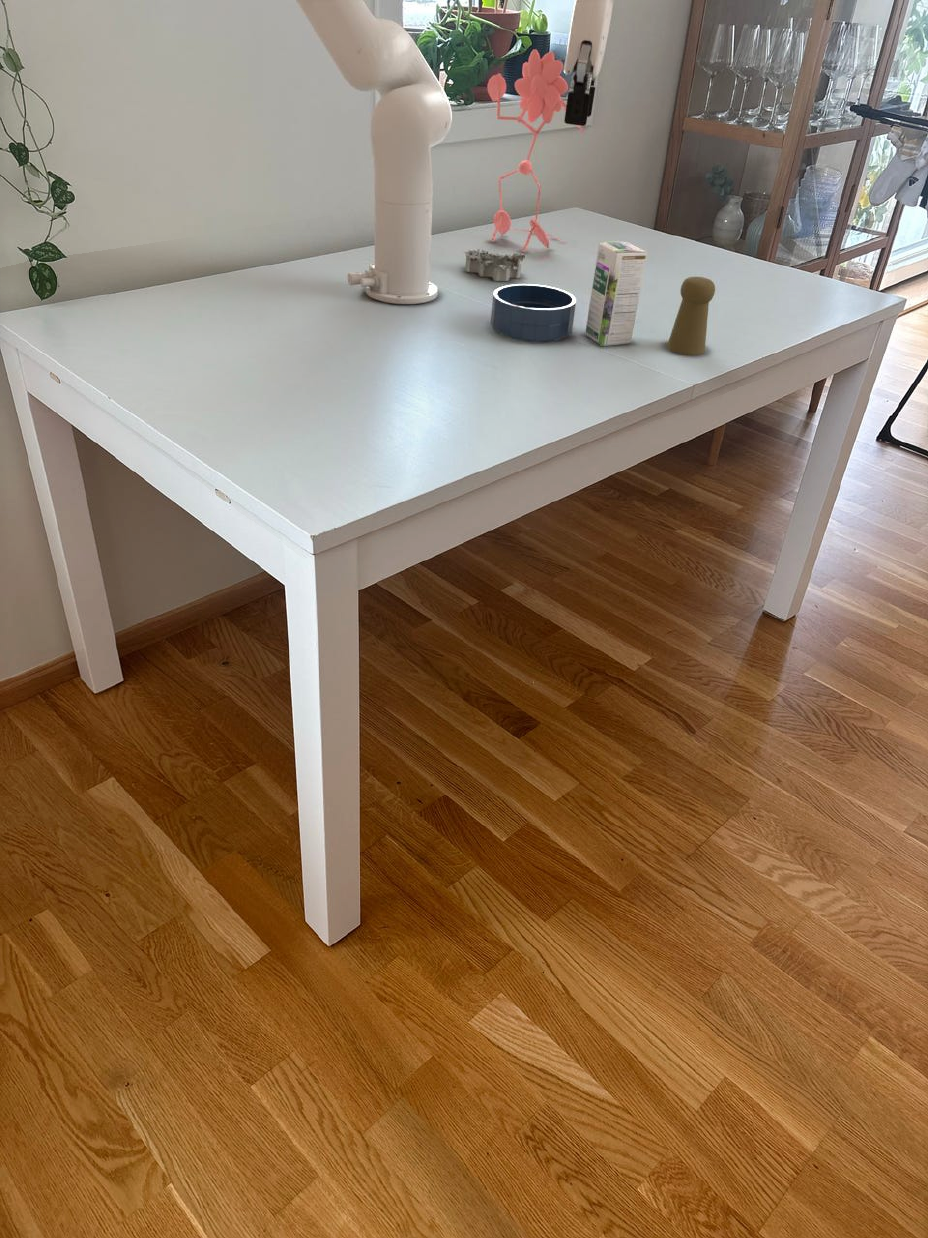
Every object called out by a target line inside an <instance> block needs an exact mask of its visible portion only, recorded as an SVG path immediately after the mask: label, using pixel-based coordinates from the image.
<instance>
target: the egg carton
mask: <svg viewBox="0 0 928 1238" xmlns="http://www.w3.org/2000/svg"><path fill="white" fill-rule="evenodd" d="M462 252H463V253H464V254H465V272H467V273H477V274H478V276H479V277H483V278H485V277H488V278H492V280H493V281H494V282H509V281H510V279H520V278H521V271H522V264H521V262H523V261H524V259H526V255H525V254H523V253H518V252H517V253H513V254H512V255H510V254H508V253H506V254H505V255H503V254H501V253H495V252H494V253H489V251H487V250H485V249H482V250H481V251H480V249H479V248H478V249H476V250H473V249H472V250H471V249H469V250H467V251H465V250H462Z"/></svg>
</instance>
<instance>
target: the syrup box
mask: <svg viewBox="0 0 928 1238" xmlns="http://www.w3.org/2000/svg"><path fill="white" fill-rule="evenodd" d="M597 247H598V248H597V252H596V253H597V254H596V259H595V260H596V261H595V267H594V273H593V279H592V280H593V281H592V286H591V293H590V300H589V307H588V314H587V319H586V326H585V331H584V334H585V335H584V336H586V337H588V338H590V339H591V340H592V341H594V342H596V343H597V344H599V345H600V346H601V347H609V346H617V345H627V344H631V343H632V339H633V332H634V328H635V322H636V316H637V311H638V305H639V300H640V294H641V289H642V283H643V279H644V278H643V277H644V273H645V266H646V262H647V256H648V251H647V250H643V249H642V248H639V247H637V245H634V244H632V243H630V242H627V241H617V240H615V241H604V242H599V243H598V246H597Z"/></svg>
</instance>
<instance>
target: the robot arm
mask: <svg viewBox="0 0 928 1238" xmlns="http://www.w3.org/2000/svg"><path fill="white" fill-rule="evenodd" d="M295 1H296V3H297V5H298V6H299V7H300V9H301V10H302V12H303V14H304V15H305V17H306V18H307V20H308V21H309V23H310V25H311V26H312V28H313V30H314V31H315V34H316V35H317V36H318V38H319V40H320V41H321V43H322V45H323V46H324V48H325V50H326V51H327V52H328V54H329V55H330V57H331V59H332V60H333V62H334V64H335V65H336V67H337V69H338V70H339V72H340V74H341V76H342V77H343V78H344V80H345V81H346V82H347V83H348V84H349V86H351V88H353V89H355V90H357V91H360V92H374V91H377V92H378V94H379V96H380V97H381V98H379V100H378V101H377V103H376V105H375V107H374V109H373V112H372V115H371V119H370V120H371V121H370V138H371V145H372V154H373V164H374V165H373V166H374V264H369V265H368V269H365V270H364V272H349V273H348V274H347V283H348V285H349V286H356V285H360V287H361V288H365V293H366V295H367V296H368V297H370V298H371V299H374V300H377V301H379V302H383V303H387V304H393V305H395V304H396V305H417V304H419V305H420V304H425V303H429V302H431V301H433V300H435V299H437V297H438V294H439V293H438V292H439V289H438V287H437V285H435V284H434V283H432V282H430V278H431V277H430V274H431V273H430V272H431V249H432V248H431V247H432V225H433V222H432V221H433V203H434V202H433V200H434V199H433V196H434V195H433V193H434V176H433V175H434V174H433V164H432V163H433V162H432V155H431V153H432V152H431V148H433V147H435V146H436V145H438V144H440V143H441V142H442V141H443V140H445V138H446V137H447V136H448V133H449V132H450V129H451V126H452V121H453V114H452V113H453V111H452V108H451V103H450V100H449V98H448V96H447V94H446V92H445V90H444V89H443V87H442V85H441V83H440V82H439V80H438V78H437V77H436V75H435V74H434V71H433V70H432V69H431V67H430V65H429V63H428V62H427V60H426V58H425V57H424V55H423V54H422V52H421V50H420V48H419V47H418V45H417V43H416V42H415V41H414V39H413V38H412V36H411V35H410V33H408V32H407V30H406V29H405V28H404V27H403V26H402V25H400V24H399V23H397V22H396V21H393V20H391V19H387V18H376V16H375V15H374V14H373V13H372V12H371V10H370V9H369V8H368V6H367V4H366V2H365V1H364V0H295ZM614 1H615V0H574V5H573V11H572V16H571V22H570V29H569V36H568V43H567V48H566V54H565V55H566V56H565V61H564V66H563V73H564V74H565V75H566V76H569V75H570V74H571V73H572V75H571V81H570V87H569V91H567V98H566V111H565V113H564V123H565V124H566V125H572V126H577V125H580V126H581V127H585V126H586V125H587V121H588V118H589V117H591V116H592V112H593V105H594V99H595V93H596V87H595V84H596V77H598V76H599V74H600V72H601V69H602V65H603V62H604V58H605V57H604V56H605V53H606V48H607V44H608V38H609V32H610V28H611V27H610V25H611V19H612V15H613V14H612V13H613V9H614Z"/></svg>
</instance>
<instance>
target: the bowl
mask: <svg viewBox="0 0 928 1238" xmlns="http://www.w3.org/2000/svg"><path fill="white" fill-rule="evenodd" d="M491 303H492V304H491V315H490V316H491V318H490V325H491V327H492V329H493V330H495V331H496V332H497V333H499V334H501V335H504V336H505V337H508V338H511V339H513V340H517V341H523V342H531V343H548V342H553V341H557V340H558V341H559V340H562V339H565V338H567V337H569V336H570V335H571V334H572V332H573V327H574V321H575V320H574V319H575V313H576V305H577V298H576V297H575V296H574V294H572V293H570V292H568V291H566V290H563V289H561V288H557V287H554V286H553V287H552V286H548V285H542V284H531V283H528V284H527V283H517V284H508V285H504V286H501V287H498V288H496V289H495V290H494V291H493V294H492V302H491Z"/></svg>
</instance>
